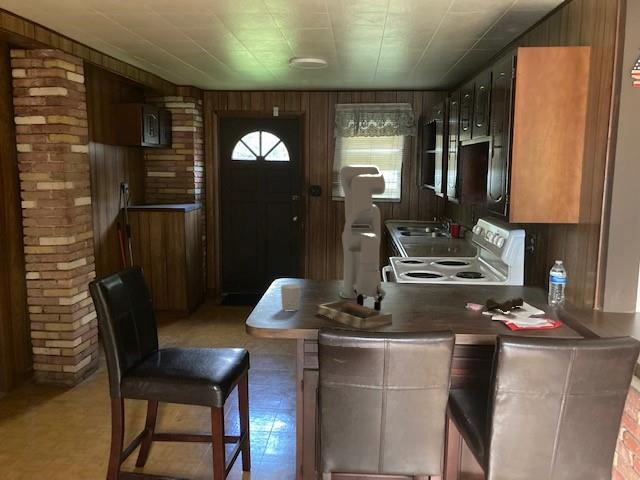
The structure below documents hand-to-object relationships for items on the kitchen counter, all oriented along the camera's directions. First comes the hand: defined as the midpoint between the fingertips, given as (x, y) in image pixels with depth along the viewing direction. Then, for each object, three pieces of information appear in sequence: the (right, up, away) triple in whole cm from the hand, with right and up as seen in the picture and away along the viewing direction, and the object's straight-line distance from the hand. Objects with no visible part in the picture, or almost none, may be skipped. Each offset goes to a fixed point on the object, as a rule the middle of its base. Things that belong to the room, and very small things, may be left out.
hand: (368, 308), depth 212 cm
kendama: (+58, -2, +8) cm, 58 cm away
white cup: (-32, -2, +6) cm, 33 cm away
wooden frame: (-6, -3, -5) cm, 8 cm away
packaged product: (-3, -4, -4) cm, 6 cm away
